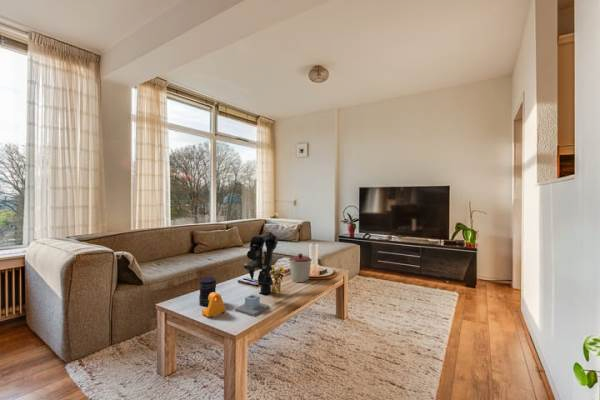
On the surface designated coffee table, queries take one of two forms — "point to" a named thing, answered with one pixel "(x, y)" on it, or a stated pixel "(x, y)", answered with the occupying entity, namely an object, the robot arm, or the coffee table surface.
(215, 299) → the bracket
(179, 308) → the coffee table surface
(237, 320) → the coffee table surface
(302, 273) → the canister
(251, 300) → the blue-grey hollow cube
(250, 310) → the pin plate
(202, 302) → the storage jar
